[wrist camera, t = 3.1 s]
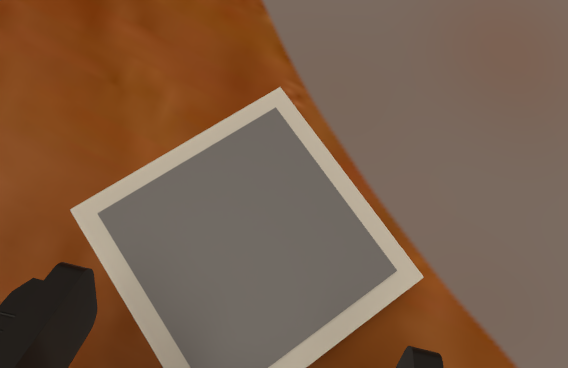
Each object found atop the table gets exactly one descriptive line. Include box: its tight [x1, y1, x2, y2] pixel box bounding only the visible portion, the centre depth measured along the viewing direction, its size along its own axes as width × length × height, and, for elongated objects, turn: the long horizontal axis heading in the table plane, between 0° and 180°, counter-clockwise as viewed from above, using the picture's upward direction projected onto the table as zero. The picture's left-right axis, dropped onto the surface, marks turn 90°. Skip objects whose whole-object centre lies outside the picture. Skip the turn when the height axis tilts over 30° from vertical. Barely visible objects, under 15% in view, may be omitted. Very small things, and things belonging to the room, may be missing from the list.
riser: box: [70, 87, 423, 368], centre depth 24 cm, size 12×12×5 cm
